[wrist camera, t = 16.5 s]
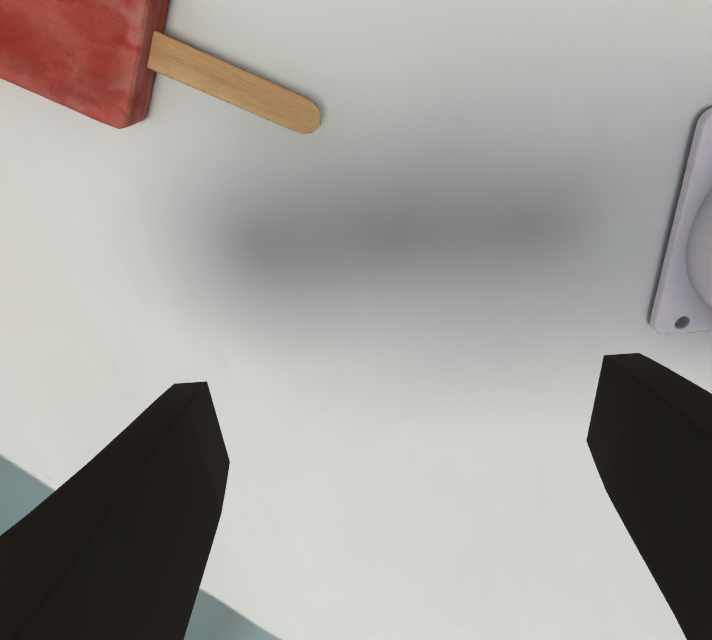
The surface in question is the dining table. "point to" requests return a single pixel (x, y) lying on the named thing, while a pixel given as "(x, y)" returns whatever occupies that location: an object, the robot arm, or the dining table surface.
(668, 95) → the dining table surface
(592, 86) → the dining table surface
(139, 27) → the popsicle
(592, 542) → the dining table surface
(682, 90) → the dining table surface
